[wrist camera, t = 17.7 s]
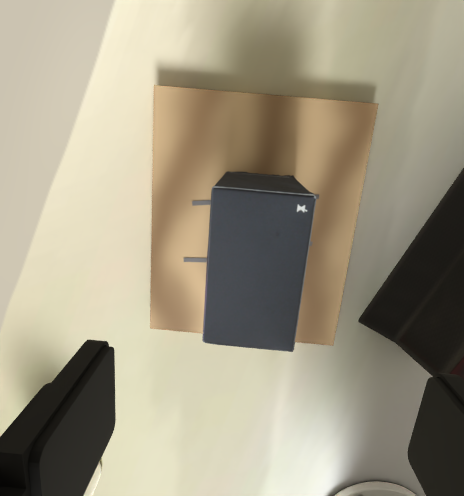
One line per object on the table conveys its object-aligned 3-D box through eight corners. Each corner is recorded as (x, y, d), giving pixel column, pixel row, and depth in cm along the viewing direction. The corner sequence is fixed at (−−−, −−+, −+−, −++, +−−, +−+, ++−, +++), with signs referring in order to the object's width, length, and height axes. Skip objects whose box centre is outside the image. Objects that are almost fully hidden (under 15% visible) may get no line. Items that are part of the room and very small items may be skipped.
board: (371, 105, 29) (378, 103, 28) (329, 337, 36) (333, 345, 34) (158, 88, 30) (153, 84, 28) (154, 321, 36) (150, 328, 34)
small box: (220, 169, 30) (206, 181, 20) (297, 175, 30) (323, 190, 20) (212, 284, 33) (197, 346, 23) (282, 290, 33) (298, 355, 23)
